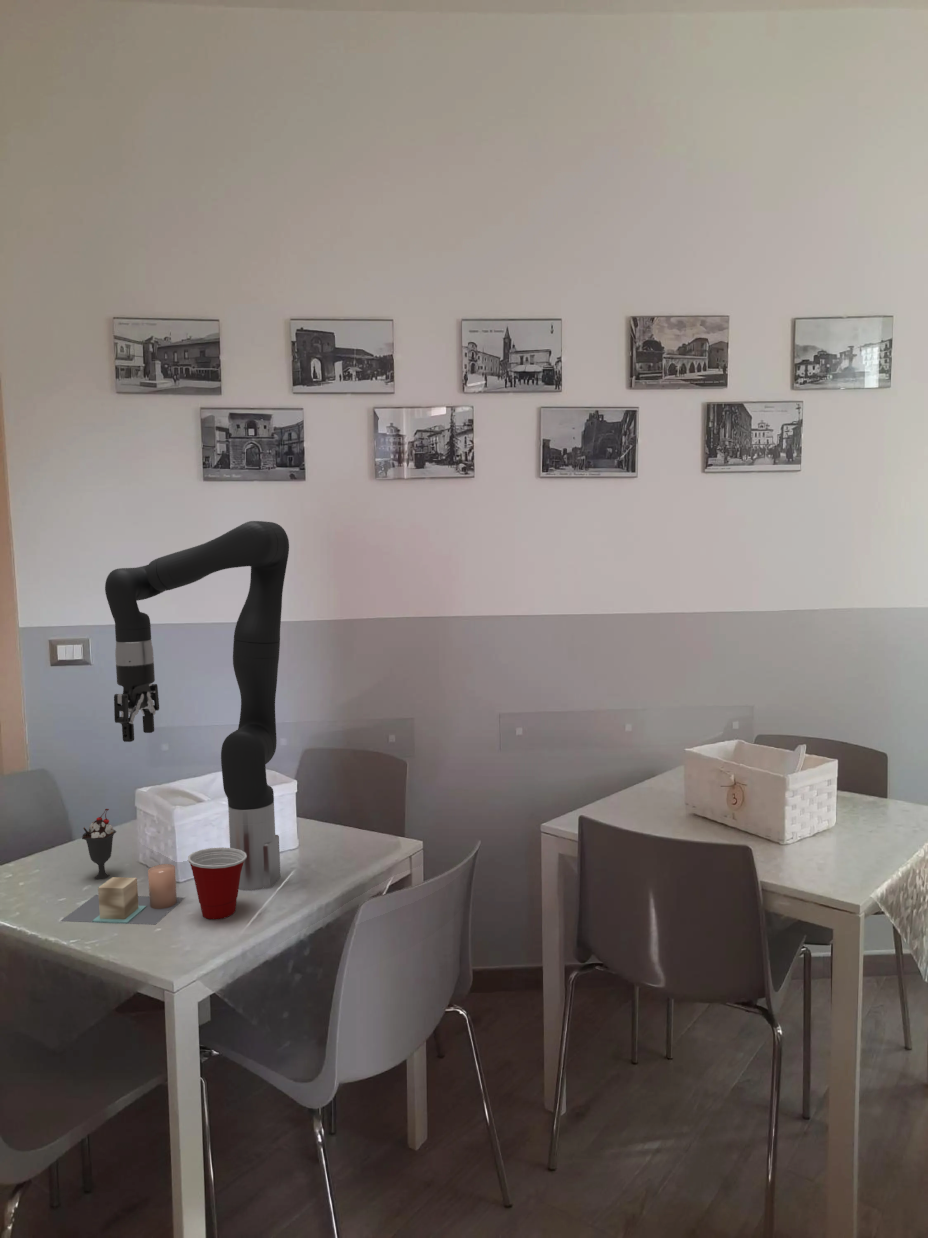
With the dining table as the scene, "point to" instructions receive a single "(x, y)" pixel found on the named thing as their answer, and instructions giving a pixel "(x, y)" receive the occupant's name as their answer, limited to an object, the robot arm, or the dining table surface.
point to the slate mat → (147, 916)
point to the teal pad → (121, 919)
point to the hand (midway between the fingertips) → (139, 736)
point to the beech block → (118, 898)
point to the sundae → (100, 843)
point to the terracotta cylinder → (162, 886)
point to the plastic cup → (217, 880)
